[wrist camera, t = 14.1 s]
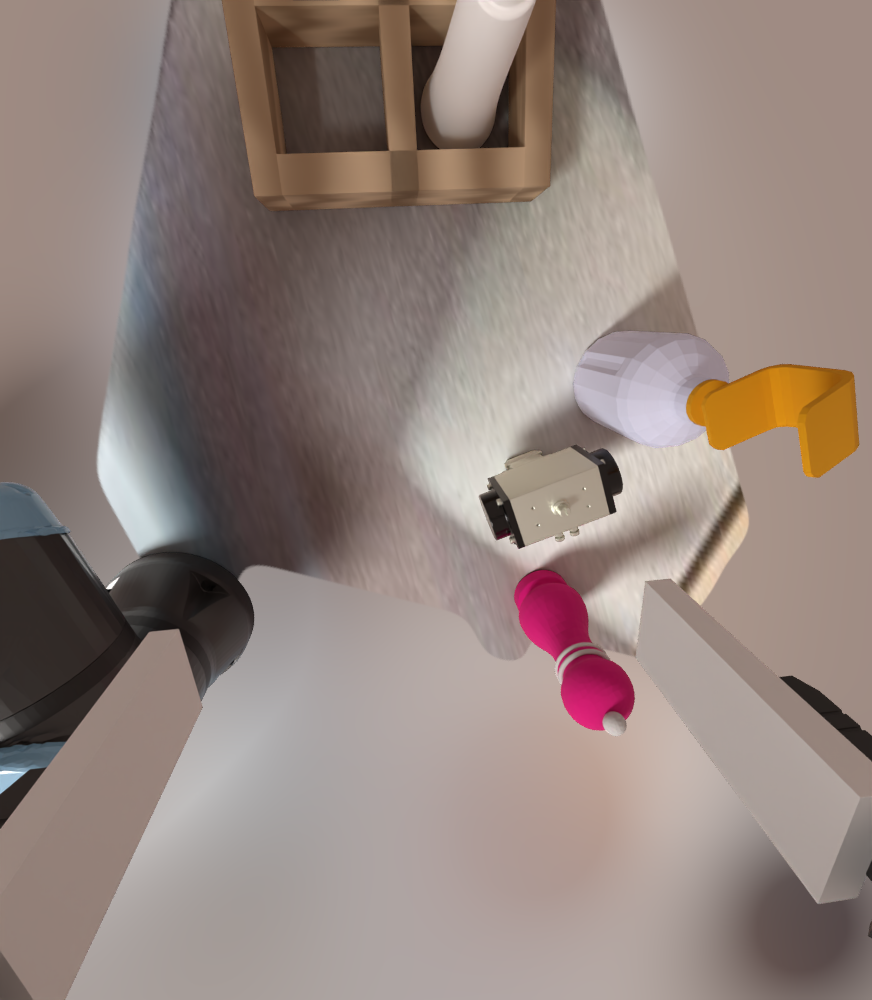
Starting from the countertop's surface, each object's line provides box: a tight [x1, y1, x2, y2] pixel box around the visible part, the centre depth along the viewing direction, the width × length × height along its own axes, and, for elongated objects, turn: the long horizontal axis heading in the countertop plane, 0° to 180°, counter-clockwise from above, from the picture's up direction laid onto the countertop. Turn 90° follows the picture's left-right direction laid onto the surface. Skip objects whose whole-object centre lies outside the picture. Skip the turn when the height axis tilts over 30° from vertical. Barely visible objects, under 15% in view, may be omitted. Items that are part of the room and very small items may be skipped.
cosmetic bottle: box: [421, 0, 536, 149], centre depth 27 cm, size 6×6×22 cm
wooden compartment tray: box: [222, 0, 556, 211], centre depth 35 cm, size 22×13×5 cm, turn 93°
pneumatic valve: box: [479, 445, 623, 549], centre depth 44 cm, size 6×12×12 cm, turn 110°
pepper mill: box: [514, 570, 635, 736], centre depth 45 cm, size 7×7×20 cm
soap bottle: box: [573, 331, 859, 478], centre depth 35 cm, size 9×9×25 cm
